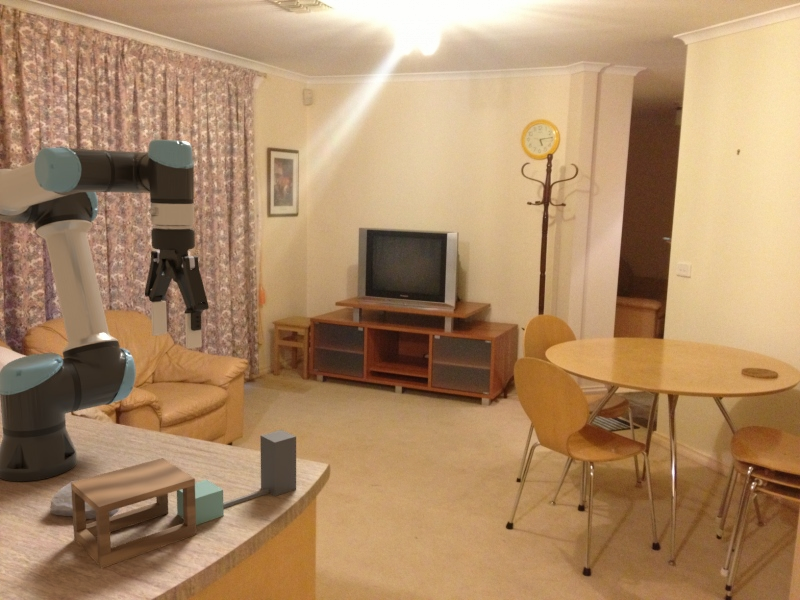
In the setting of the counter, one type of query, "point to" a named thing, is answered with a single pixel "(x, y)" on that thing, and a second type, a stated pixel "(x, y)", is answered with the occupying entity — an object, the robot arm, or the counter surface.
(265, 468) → the tethered block
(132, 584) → the counter surface
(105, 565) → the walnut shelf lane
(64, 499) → the stone block
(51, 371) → the robot arm
